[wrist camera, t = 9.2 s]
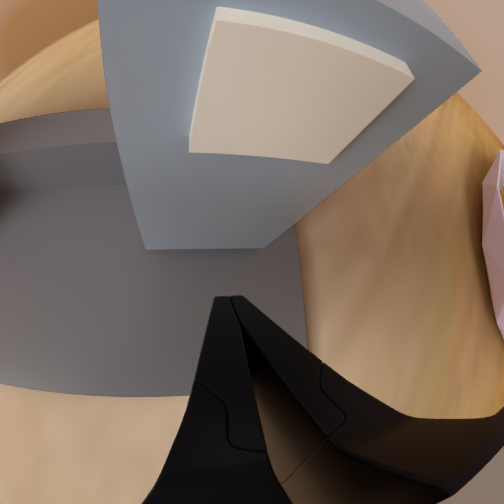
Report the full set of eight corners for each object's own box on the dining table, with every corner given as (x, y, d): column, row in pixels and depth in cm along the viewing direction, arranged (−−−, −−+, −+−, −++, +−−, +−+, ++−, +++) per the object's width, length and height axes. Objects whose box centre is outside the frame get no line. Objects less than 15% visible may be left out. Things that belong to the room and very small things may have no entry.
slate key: (264, 255, 15) (492, 86, 3) (145, 257, 13) (85, -33, 1) (258, 195, 16) (415, -8, 4) (147, 193, 14) (149, -79, 2)
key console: (303, 377, 15) (352, 393, 11) (-82, 356, 8) (-123, 357, 3) (281, 167, 18) (316, 122, 14) (-69, 186, 10) (-100, 158, 6)
